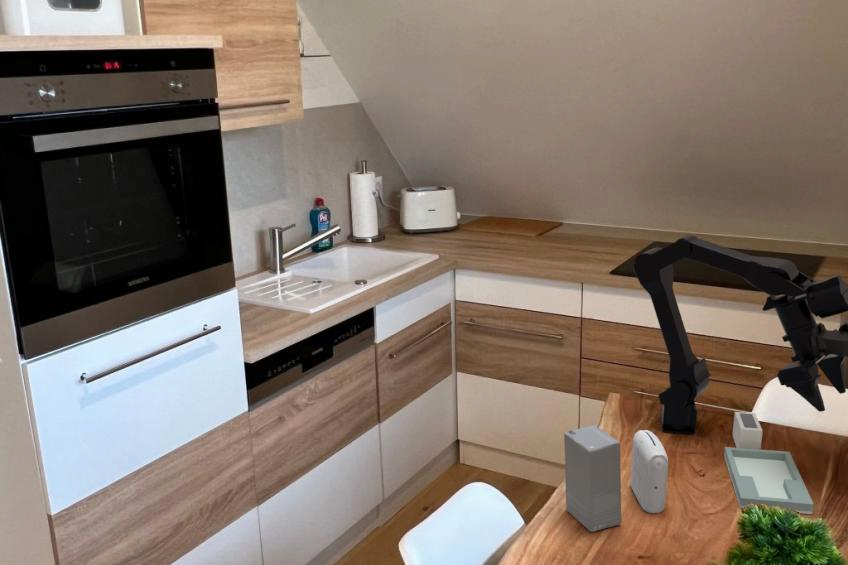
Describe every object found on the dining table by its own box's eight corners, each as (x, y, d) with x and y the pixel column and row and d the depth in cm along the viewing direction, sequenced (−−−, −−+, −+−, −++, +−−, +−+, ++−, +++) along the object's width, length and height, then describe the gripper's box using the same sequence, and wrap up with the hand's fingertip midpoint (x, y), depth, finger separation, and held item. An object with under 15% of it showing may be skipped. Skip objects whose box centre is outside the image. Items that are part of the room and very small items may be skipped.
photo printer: (667, 513, 144) (672, 450, 141) (643, 514, 144) (647, 451, 140) (650, 483, 154) (654, 423, 150) (627, 483, 154) (631, 424, 150)
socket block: (738, 454, 164) (741, 428, 162) (732, 435, 172) (734, 410, 170) (759, 455, 163) (762, 429, 162) (752, 437, 171) (755, 412, 169)
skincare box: (621, 525, 141) (626, 442, 136) (586, 535, 138) (590, 451, 134) (594, 501, 148) (598, 421, 144) (560, 509, 146) (563, 429, 141)
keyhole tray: (740, 507, 145) (741, 498, 145) (724, 455, 163) (725, 446, 163) (812, 514, 143) (813, 504, 143) (788, 460, 161) (789, 451, 160)
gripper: (818, 331, 142) (854, 414, 141) (861, 299, 154) (894, 376, 153) (761, 344, 151) (795, 423, 150) (806, 313, 162) (837, 386, 162)
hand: (832, 401), depth 153 cm, fingers open, 9 cm apart
